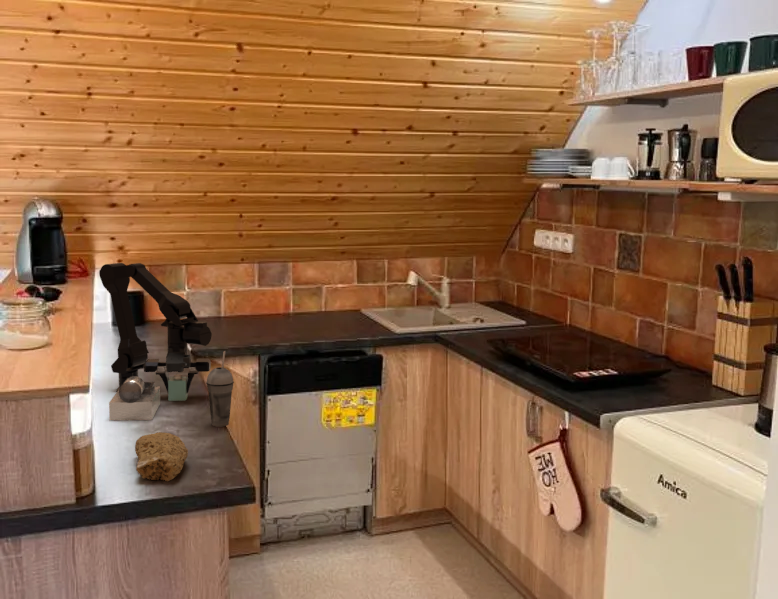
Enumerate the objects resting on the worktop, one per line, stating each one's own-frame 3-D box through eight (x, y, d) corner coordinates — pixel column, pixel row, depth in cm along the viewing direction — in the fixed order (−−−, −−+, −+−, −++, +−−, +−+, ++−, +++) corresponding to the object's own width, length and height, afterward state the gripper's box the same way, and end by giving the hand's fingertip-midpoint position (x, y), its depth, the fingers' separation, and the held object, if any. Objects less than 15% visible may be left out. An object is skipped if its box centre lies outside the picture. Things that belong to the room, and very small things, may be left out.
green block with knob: (170, 396, 231) (170, 373, 230) (187, 395, 231) (187, 373, 230) (168, 400, 226) (168, 377, 225) (185, 400, 226) (185, 377, 225)
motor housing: (121, 403, 221) (120, 367, 220) (160, 403, 223) (159, 367, 221) (109, 420, 205) (108, 382, 204) (151, 420, 207) (151, 381, 206)
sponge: (185, 487, 166) (197, 439, 184) (176, 457, 163) (190, 411, 182) (124, 498, 165) (143, 449, 184) (114, 467, 162) (134, 421, 181)
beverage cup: (204, 421, 207) (203, 349, 204) (230, 419, 210) (230, 347, 207) (209, 429, 200) (208, 355, 198) (236, 426, 203) (236, 353, 200)
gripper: (140, 348, 217) (141, 401, 219) (207, 347, 220) (207, 400, 222) (146, 340, 228) (147, 390, 230) (210, 339, 230) (210, 390, 233)
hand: (178, 393), depth 228 cm, fingers closed on green block with knob, 5 cm apart
